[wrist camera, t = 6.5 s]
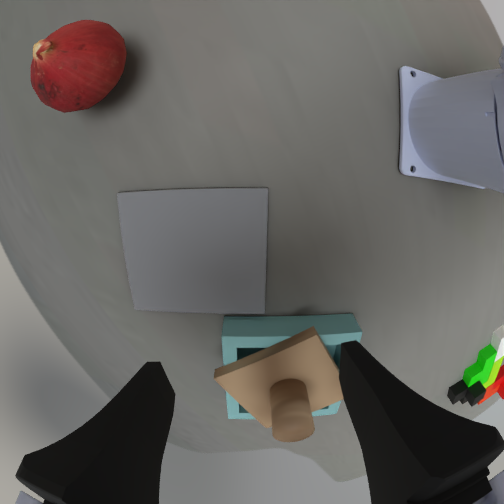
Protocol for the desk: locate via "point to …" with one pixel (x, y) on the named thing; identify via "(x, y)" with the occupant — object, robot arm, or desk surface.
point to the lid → (285, 384)
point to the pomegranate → (77, 65)
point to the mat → (196, 249)
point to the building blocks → (482, 374)
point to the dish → (276, 330)
